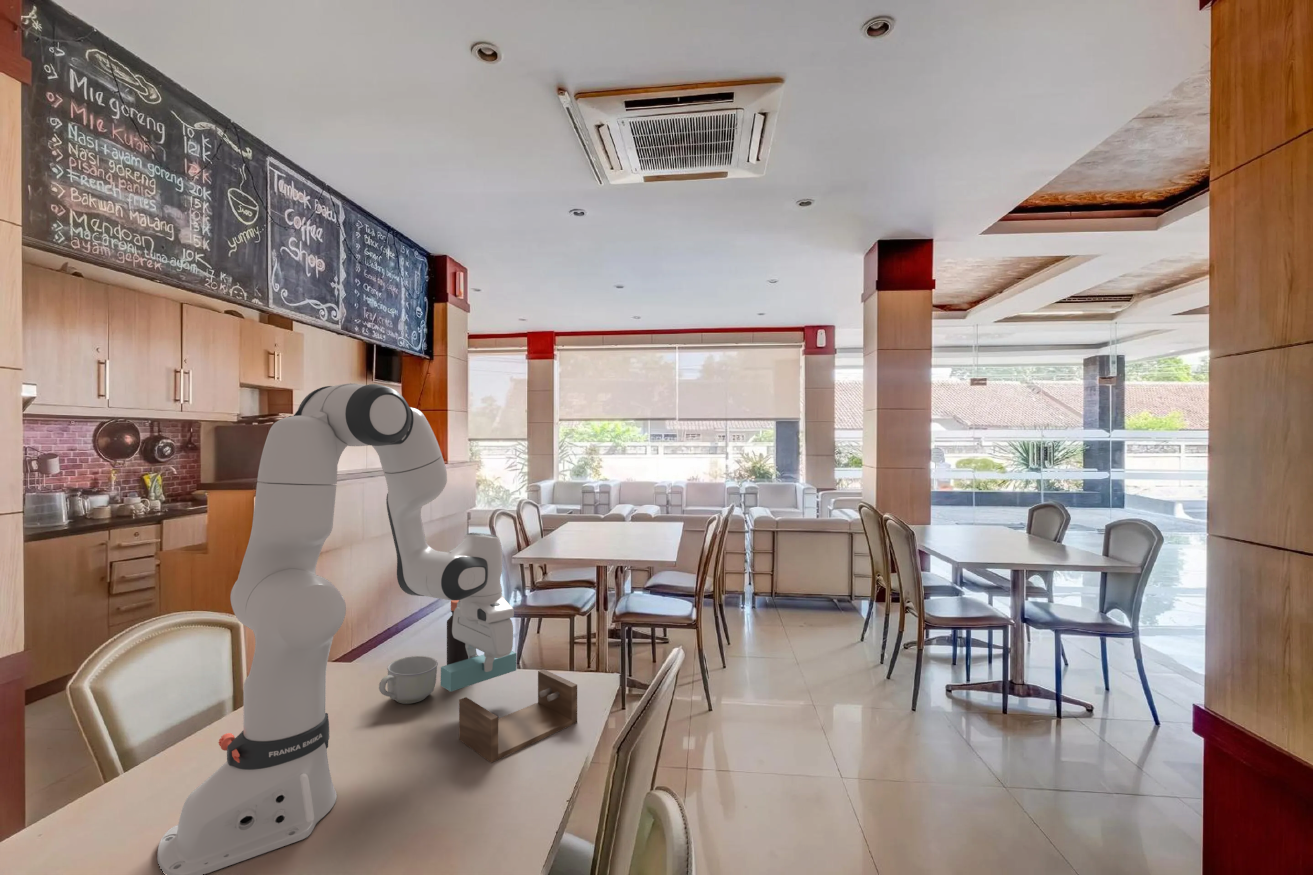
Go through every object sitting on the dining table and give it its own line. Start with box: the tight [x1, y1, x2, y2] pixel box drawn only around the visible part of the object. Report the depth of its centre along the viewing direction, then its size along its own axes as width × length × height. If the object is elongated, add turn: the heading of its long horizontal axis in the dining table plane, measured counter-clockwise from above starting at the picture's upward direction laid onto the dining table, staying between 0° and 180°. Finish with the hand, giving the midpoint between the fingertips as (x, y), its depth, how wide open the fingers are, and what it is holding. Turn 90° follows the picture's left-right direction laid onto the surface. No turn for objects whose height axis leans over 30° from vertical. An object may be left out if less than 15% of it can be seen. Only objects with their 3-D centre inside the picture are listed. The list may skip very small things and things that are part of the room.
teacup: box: [378, 655, 439, 705], centre depth 129 cm, size 14×11×8 cm
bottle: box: [446, 600, 468, 665], centre depth 140 cm, size 7×7×20 cm
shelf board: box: [440, 650, 517, 692], centre depth 125 cm, size 16×4×4 cm, turn 137°
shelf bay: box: [458, 668, 578, 764], centre depth 116 cm, size 20×12×8 cm, turn 137°
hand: (480, 666), depth 125 cm, fingers closed on shelf board, 4 cm apart
